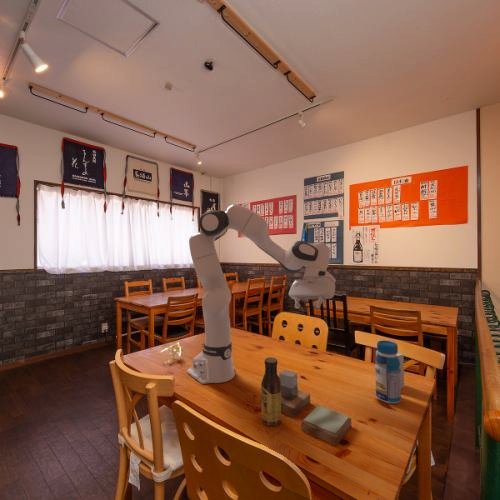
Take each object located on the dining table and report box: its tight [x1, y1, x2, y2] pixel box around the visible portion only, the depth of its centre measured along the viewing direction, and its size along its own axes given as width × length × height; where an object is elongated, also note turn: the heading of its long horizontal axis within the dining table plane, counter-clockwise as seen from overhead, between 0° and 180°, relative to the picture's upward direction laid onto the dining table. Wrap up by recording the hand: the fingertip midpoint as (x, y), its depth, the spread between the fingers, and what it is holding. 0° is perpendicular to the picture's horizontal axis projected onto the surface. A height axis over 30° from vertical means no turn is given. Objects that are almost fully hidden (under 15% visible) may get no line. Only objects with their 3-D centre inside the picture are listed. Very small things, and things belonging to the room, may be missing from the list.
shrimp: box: [157, 340, 186, 365], centre depth 138 cm, size 11×15×9 cm
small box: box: [375, 349, 405, 389], centre depth 110 cm, size 8×6×13 cm
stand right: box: [300, 405, 352, 447], centre depth 84 cm, size 11×11×3 cm
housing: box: [278, 368, 299, 400], centre depth 97 cm, size 5×4×8 cm
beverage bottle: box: [374, 340, 402, 405], centre depth 100 cm, size 8×8×20 cm
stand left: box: [281, 390, 311, 418], centre depth 97 cm, size 11×11×3 cm
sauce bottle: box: [260, 356, 282, 427], centre depth 87 cm, size 7×6×20 cm
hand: (306, 307), depth 109 cm, fingers open, 8 cm apart
